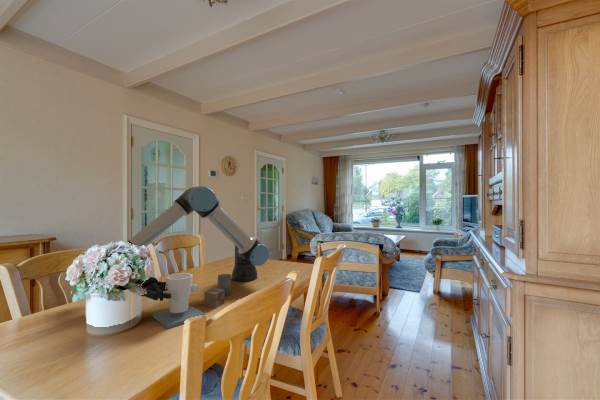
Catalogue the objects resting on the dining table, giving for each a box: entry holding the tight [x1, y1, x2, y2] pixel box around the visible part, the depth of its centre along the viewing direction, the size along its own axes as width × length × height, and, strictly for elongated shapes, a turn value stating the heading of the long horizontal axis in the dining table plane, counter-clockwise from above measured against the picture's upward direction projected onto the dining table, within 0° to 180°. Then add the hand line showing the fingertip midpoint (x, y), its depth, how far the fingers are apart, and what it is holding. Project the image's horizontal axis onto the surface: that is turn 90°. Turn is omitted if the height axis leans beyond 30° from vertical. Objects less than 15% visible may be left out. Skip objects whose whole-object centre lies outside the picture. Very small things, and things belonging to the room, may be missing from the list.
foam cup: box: [165, 272, 194, 313], centre depth 105 cm, size 10×9×13 cm
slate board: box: [152, 304, 206, 330], centre depth 105 cm, size 14×14×1 cm
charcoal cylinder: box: [217, 273, 232, 297], centre depth 131 cm, size 6×6×9 cm
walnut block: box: [203, 287, 225, 309], centre depth 118 cm, size 6×6×6 cm
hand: (188, 292), depth 103 cm, fingers closed on foam cup, 9 cm apart
